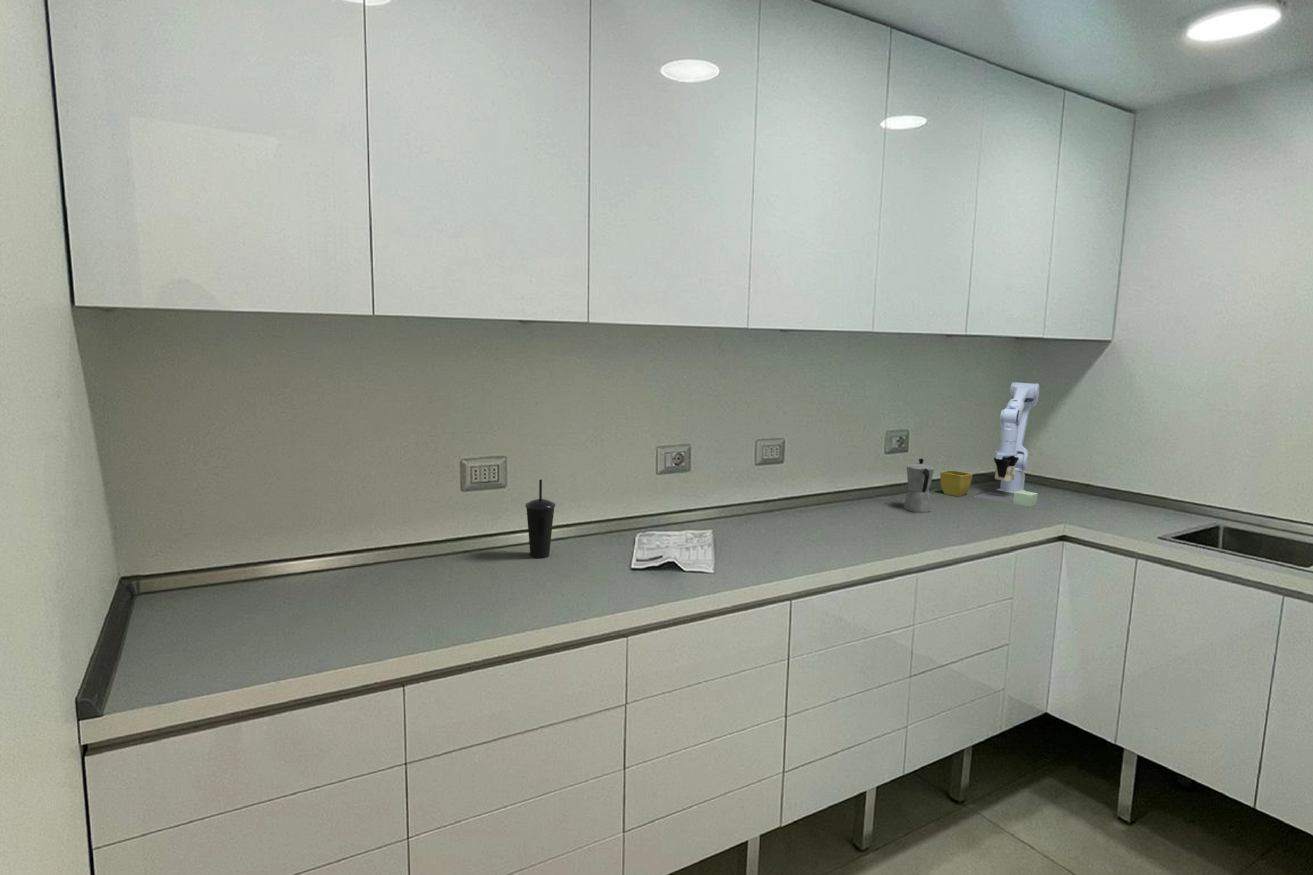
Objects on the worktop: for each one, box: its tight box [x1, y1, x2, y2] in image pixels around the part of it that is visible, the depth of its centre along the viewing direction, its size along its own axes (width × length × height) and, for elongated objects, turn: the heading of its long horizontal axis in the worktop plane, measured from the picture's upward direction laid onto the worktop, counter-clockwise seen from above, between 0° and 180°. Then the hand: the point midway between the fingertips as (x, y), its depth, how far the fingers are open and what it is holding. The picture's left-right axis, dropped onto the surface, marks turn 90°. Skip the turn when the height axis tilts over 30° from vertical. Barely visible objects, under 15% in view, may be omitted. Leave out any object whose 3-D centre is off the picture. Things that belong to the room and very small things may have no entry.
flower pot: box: [939, 469, 974, 497], centre depth 275 cm, size 9×9×9 cm
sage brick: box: [1013, 490, 1039, 506], centre depth 263 cm, size 6×6×4 cm
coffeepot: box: [903, 458, 936, 513], centre depth 249 cm, size 15×9×18 cm, turn 175°
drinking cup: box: [524, 479, 556, 559], centre depth 185 cm, size 8×8×20 cm
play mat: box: [972, 491, 1056, 510], centre depth 269 cm, size 15×24×1 cm, turn 43°
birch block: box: [994, 465, 1015, 481], centre depth 273 cm, size 5×5×5 cm
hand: (1004, 476), depth 273 cm, fingers closed on birch block, 5 cm apart
